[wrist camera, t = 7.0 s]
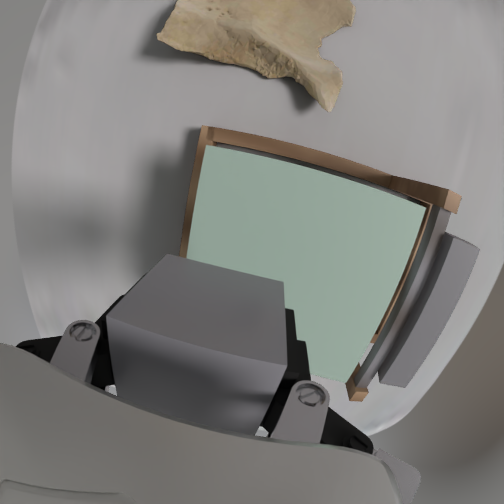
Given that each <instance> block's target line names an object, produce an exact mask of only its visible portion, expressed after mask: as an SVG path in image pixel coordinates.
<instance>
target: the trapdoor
mask: <svg viewBox="0 0 504 504" xmlns="http://www.w3.org/2000/svg"><path fill="white" fill-rule="evenodd" d="M425 210H426V208H425V207H423V206H421V205H418V204H416V203H413V202H411V201H408V200H405V199H403V198H400V197H398V196H395V195H392V194H389V193H387V192H384V191H381V190H378V189H375V188H373V187H370V186H367V185H364V184H361V183H358V182H355V181H352V180H348V179H345V178H342V177H339V176H336V175H332V174H329V173H326V172H322V171H319V170H315V169H312V168H308V167H304V166H301V165H297V164H293V163H289V162H285V161H281V160H277V159H273V158H269V157H264V156H260V155H255V154H251V153H246V152H241V151H236V150H231V149H226V148H221V147H215V146H210V145H206V148H205V153H204V158H203V163H202V168H201V173H200V178H199V183H198V189H197V194H196V200H195V206H194V212H193V218H192V224H191V230H190V237H189V243H188V250H187V259H191V260H195V261H199V262H203V263H207V264H211V265H215V266H219V267H223V268H227V269H231V270H236V271H240V272H244V273H248V274H252V275H256V276H261V277H265V278H269V279H273V280H278V281H282V282H284V299H285V308H288V309H293V310H294V315H295V325H296V335H297V340H302V341H305V342H306V345H307V353H308V361H309V369H310V374H312V375H316V376H320V377H324V378H328V379H332V380H336V381H340V382H344V383H346V382H347V381H348V379H349V377H350V376H351V374H352V373H353V371H354V369H355V368H356V366H357V364H358V362H359V361H360V359H361V357H362V356H363V354H364V352H365V350H366V348H367V347H368V345H369V343H370V341H371V339H372V337H373V336H374V334H375V332H376V330H377V328H378V326H379V324H380V322H381V320H382V318H383V316H384V314H385V312H386V310H387V308H388V305H389V303H390V301H391V299H392V297H393V295H394V292H395V290H396V288H397V286H398V283H399V281H400V279H401V276H402V274H403V271H404V269H405V266H406V264H407V261H408V259H409V256H410V254H411V251H412V248H413V246H414V243H415V240H416V237H417V234H418V231H419V228H420V225H421V222H422V219H423V216H424V213H425ZM479 251H480V249H479V248H477V247H476V246H474V245H473V244H471V243H469V242H467V241H465V240H463V239H460V238H458V237H456V236H454V235H451V234H449V233H447V232H445V233H444V236H443V239H442V242H441V244H440V247H439V250H438V253H437V255H436V258H435V260H434V263H433V265H432V268H431V270H430V273H429V275H428V277H427V280H426V282H425V284H424V286H423V289H422V291H421V293H420V295H419V297H418V299H417V302H416V304H415V306H414V308H413V310H412V312H411V314H410V316H409V318H408V320H407V321H406V323H405V325H404V327H403V329H402V331H401V333H400V334H399V336H398V338H397V340H396V342H395V343H394V345H393V347H392V348H391V350H390V352H389V354H388V355H387V357H386V358H385V360H384V362H383V363H382V365H381V367H380V368H379V370H378V376H379V382H380V383H382V384H387V385H392V386H398V387H403V388H405V387H406V386H407V385H408V383H409V382H410V381H411V379H412V378H413V376H414V375H415V373H416V372H417V371H418V369H419V368H420V366H421V365H422V363H423V362H424V360H425V359H426V357H427V356H428V354H429V352H430V351H431V349H432V348H433V346H434V344H435V343H436V341H437V339H438V338H439V336H440V334H441V332H442V331H443V329H444V327H445V325H446V324H447V322H448V320H449V318H450V316H451V314H452V312H453V310H454V308H455V306H456V304H457V302H458V300H459V298H460V296H461V294H462V292H463V290H464V288H465V285H466V283H467V281H468V279H469V276H470V274H471V272H472V269H473V267H474V264H475V262H476V259H477V256H478V254H479Z"/></svg>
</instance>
